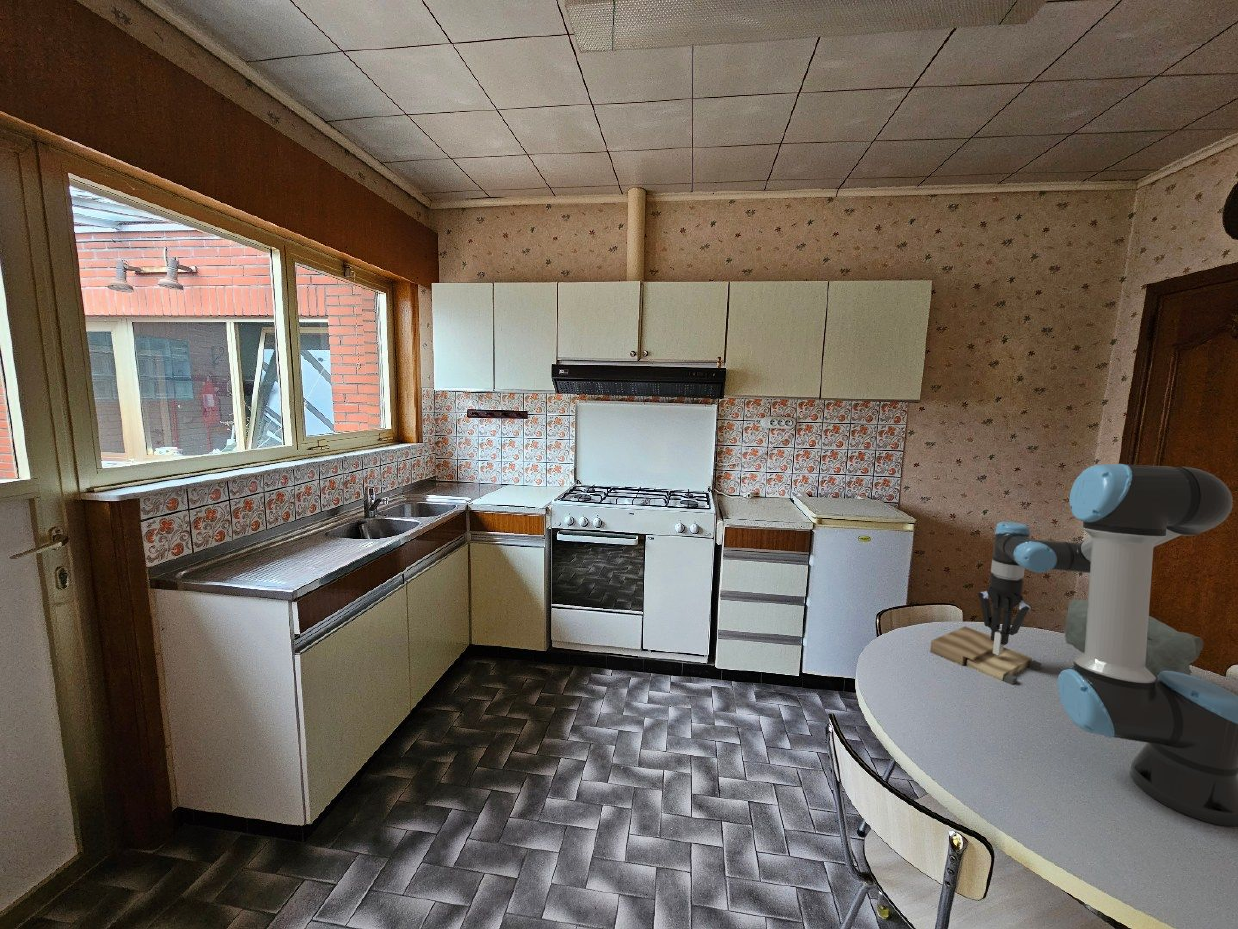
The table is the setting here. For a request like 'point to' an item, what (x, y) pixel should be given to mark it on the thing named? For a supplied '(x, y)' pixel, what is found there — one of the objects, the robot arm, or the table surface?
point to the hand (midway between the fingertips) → (997, 653)
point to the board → (962, 645)
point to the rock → (1162, 641)
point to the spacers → (1013, 679)
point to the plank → (1000, 663)
